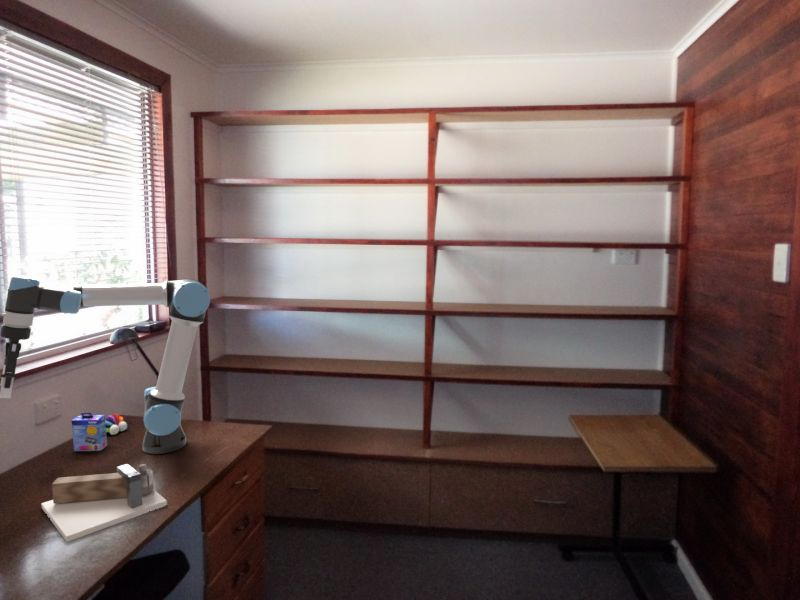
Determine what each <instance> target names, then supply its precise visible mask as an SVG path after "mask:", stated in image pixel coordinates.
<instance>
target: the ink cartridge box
mask: <svg viewBox="0 0 800 600" xmlns="http://www.w3.org/2000/svg"><path fill="white" fill-rule="evenodd" d="M105 421H106V416H105V414H92V411H91V412H80V415H77V416H75V417H74V418H73V419H71V429H72V431H71V432H72V443H73V451H74V452H101V451H102V450H103V449H105V448H106V447H107V446H108V439H107V432H106V424H105Z"/></svg>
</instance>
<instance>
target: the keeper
mask: <svg viewBox="0 0 800 600" xmlns="http://www.w3.org/2000/svg"><path fill="white" fill-rule="evenodd" d="M137 471H138V470H136V469H135V468H134V467H133V466H131V465H130V464H129V463H125V464H121V465H118V466H116V473H118V474H120V475H121V476H122V477H123V478H124V479H125V480H126V489H127V503H128V506H129V507H130V508H131V509H133V508H135V507H138V506H141V505H142V491H141V476H140V473H139V472H137Z"/></svg>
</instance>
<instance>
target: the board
mask: <svg viewBox="0 0 800 600" xmlns="http://www.w3.org/2000/svg"><path fill="white" fill-rule="evenodd" d="M40 504H41V509H42V510H43V512H44V514H47V515H46V516H47V518H48V519H49V518H50V519H49V520H50V521H51V522H52V523H51V524H53V526H54V527H55V529H57V531H58V532H59V533H60V535H61V537H63V539H64V540H65V541H66V542H67V543H68V542H71V541H73V540H76V539H79V538H81V537H85V536H88V535H90V534H92V533H95V532H98V531H100V530H104V529H106V528H109V527H111V526H114V525H117V524H120V523H122V522H126V521H128V520H131V519H133V518H137V517H139V516H142V515H145V514H147V513H150V512H153V511H155V509H156V510H158V509H161V508H163V507H164V508H165V507H166V505H167V506H168V500H167V499H165V497H163V496H162V495H161V494H159V493H158V492H157V491H156V490H155V489H154V491H153V493H151V494H150V495H147V496H142V505H141V506H138V507H135V508H133V509H131V508H130V507H129V506H128V503H127V497H120V498H109V499H98V500H87V501H76V502H65V503H53V499H51V500H47V501H44V502H42V503H40ZM149 511H150V512H149Z"/></svg>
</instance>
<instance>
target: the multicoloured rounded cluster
mask: <svg viewBox="0 0 800 600" xmlns="http://www.w3.org/2000/svg"><path fill="white" fill-rule="evenodd" d="M127 423H128V422H126V421H125V420H124V417H123V416H121V415H119V414H118V413H114V414H112V415H110V414H109V415H108V416H107V417H105V424H106V433H109V434H110V435H111V436H115V435H117V434H119V432H123V431H125V430H127V428H128V424H127Z"/></svg>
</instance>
